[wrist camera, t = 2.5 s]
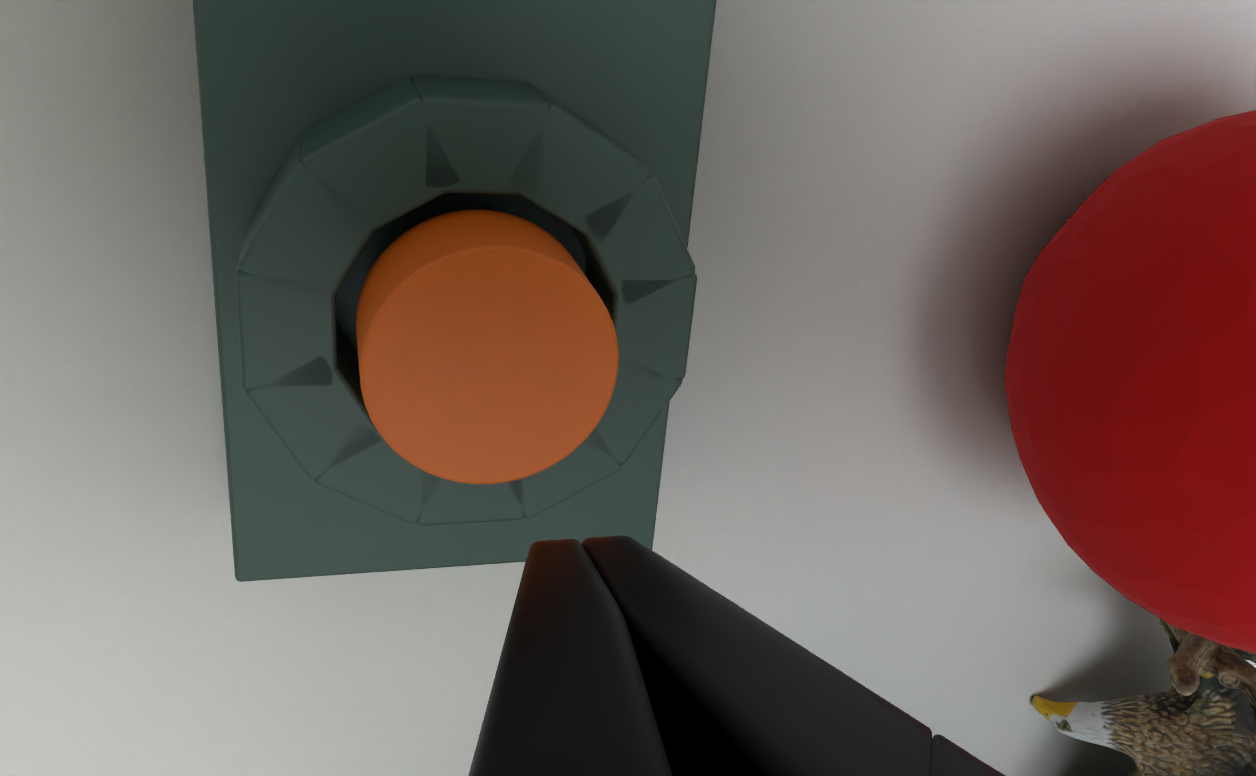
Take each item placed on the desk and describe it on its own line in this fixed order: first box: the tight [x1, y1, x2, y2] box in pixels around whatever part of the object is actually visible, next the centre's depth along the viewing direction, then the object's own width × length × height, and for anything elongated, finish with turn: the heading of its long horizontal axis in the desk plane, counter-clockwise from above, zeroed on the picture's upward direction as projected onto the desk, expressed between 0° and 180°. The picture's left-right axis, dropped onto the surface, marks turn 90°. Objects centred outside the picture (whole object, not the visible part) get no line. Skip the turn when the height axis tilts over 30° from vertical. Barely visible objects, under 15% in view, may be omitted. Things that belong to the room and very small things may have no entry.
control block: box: [193, 0, 716, 582], centre depth 16 cm, size 10×7×4 cm
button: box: [356, 209, 619, 484], centre depth 14 cm, size 3×3×2 cm
